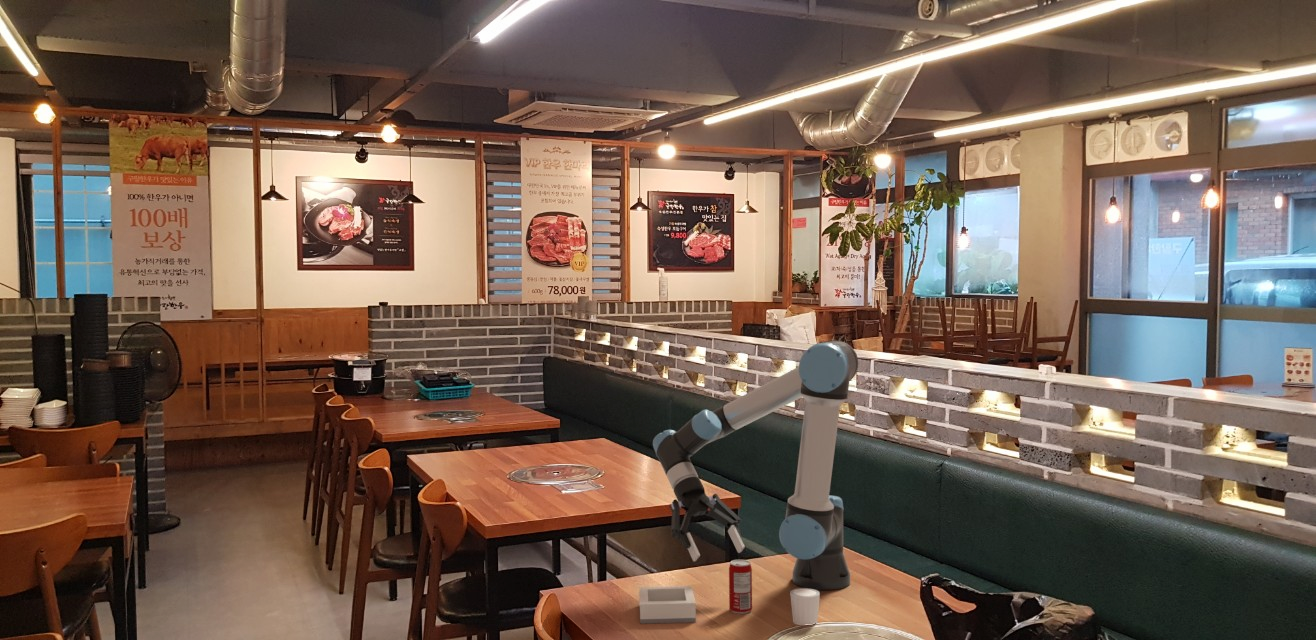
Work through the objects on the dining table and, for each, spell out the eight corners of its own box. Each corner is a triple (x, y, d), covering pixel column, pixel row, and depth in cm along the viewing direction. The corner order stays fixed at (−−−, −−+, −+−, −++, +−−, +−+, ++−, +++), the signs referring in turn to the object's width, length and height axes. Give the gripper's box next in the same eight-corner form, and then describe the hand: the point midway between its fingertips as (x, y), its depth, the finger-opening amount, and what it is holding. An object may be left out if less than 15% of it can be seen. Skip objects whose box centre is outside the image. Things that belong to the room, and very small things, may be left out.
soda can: (740, 605, 236) (739, 556, 236) (756, 610, 232) (756, 561, 232) (724, 610, 232) (724, 561, 232) (741, 615, 228) (740, 565, 228)
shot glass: (819, 627, 220) (819, 597, 219) (789, 626, 221) (789, 595, 221) (820, 617, 226) (820, 588, 226) (791, 616, 228) (791, 586, 228)
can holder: (691, 604, 237) (691, 586, 237) (695, 622, 224) (695, 603, 224) (639, 605, 237) (639, 587, 237) (640, 623, 224) (640, 604, 224)
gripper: (719, 486, 259) (753, 554, 247) (639, 497, 246) (671, 570, 234) (730, 470, 254) (765, 538, 242) (650, 480, 241) (683, 553, 229)
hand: (719, 554), depth 238 cm, fingers open, 13 cm apart
